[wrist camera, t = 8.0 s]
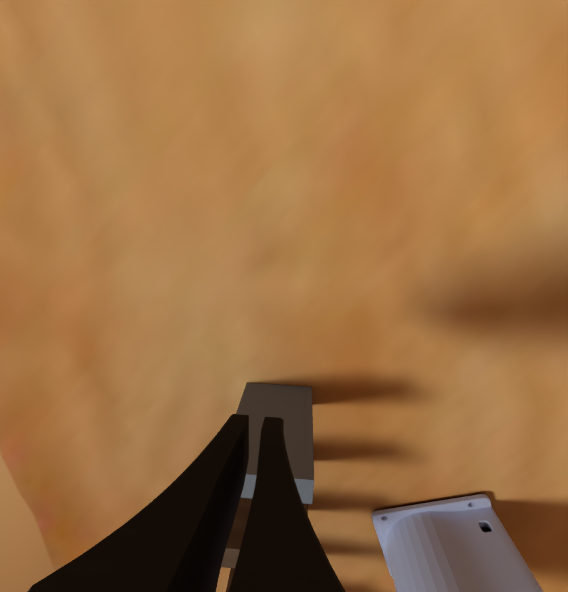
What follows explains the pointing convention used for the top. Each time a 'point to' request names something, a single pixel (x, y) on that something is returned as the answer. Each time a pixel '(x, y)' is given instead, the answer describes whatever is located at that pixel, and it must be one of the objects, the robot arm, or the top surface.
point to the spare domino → (297, 429)
